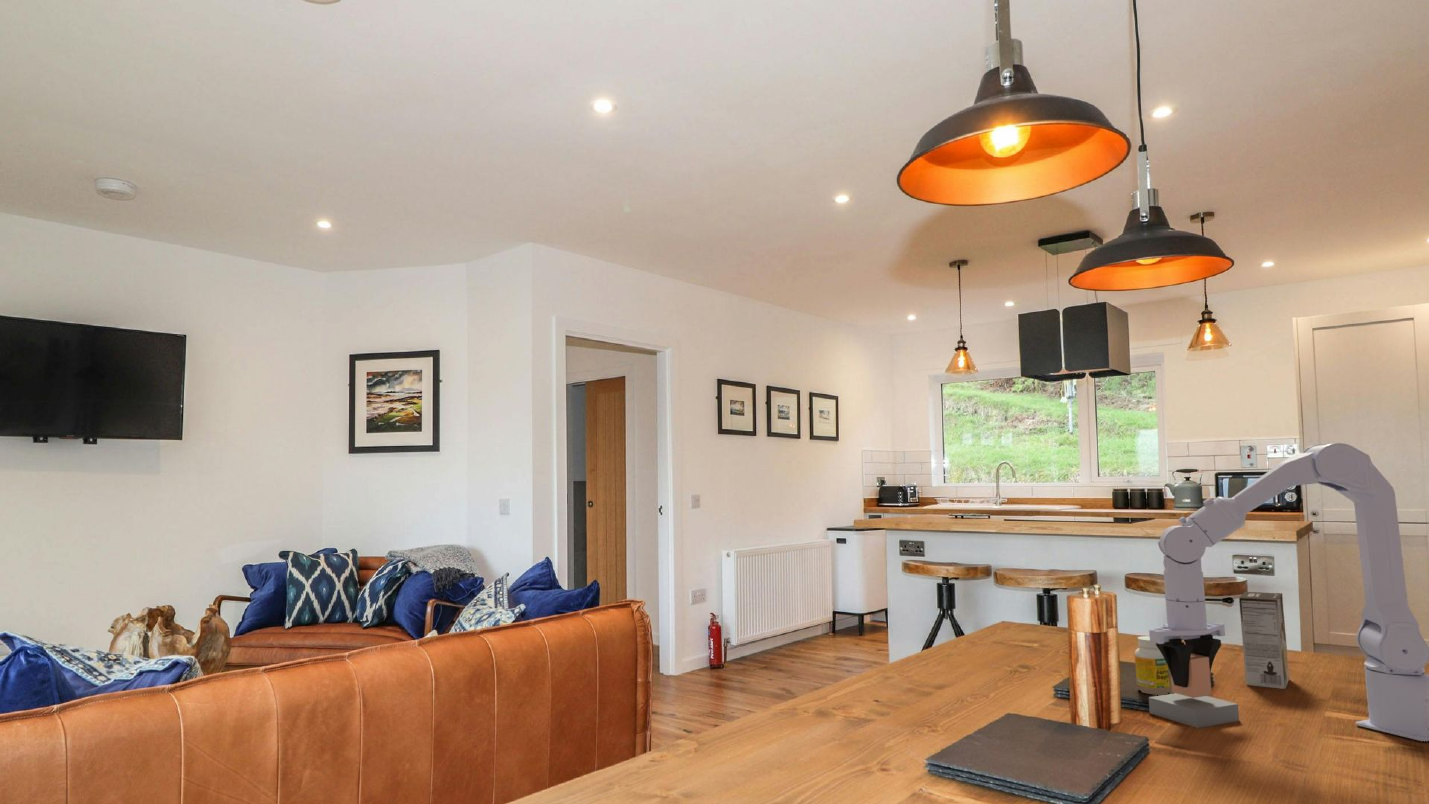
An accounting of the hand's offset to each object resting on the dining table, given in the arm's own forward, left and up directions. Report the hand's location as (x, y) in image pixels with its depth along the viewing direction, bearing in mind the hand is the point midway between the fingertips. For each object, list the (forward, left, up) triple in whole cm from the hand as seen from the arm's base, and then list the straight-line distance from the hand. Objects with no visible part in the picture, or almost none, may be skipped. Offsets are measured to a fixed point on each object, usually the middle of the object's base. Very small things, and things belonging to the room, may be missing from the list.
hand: (1191, 684), depth 138 cm
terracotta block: (0, 0, -2) cm, 2 cm away
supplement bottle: (+14, -7, -5) cm, 17 cm away
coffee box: (+10, -31, -5) cm, 33 cm away
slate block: (0, 0, -6) cm, 6 cm away
